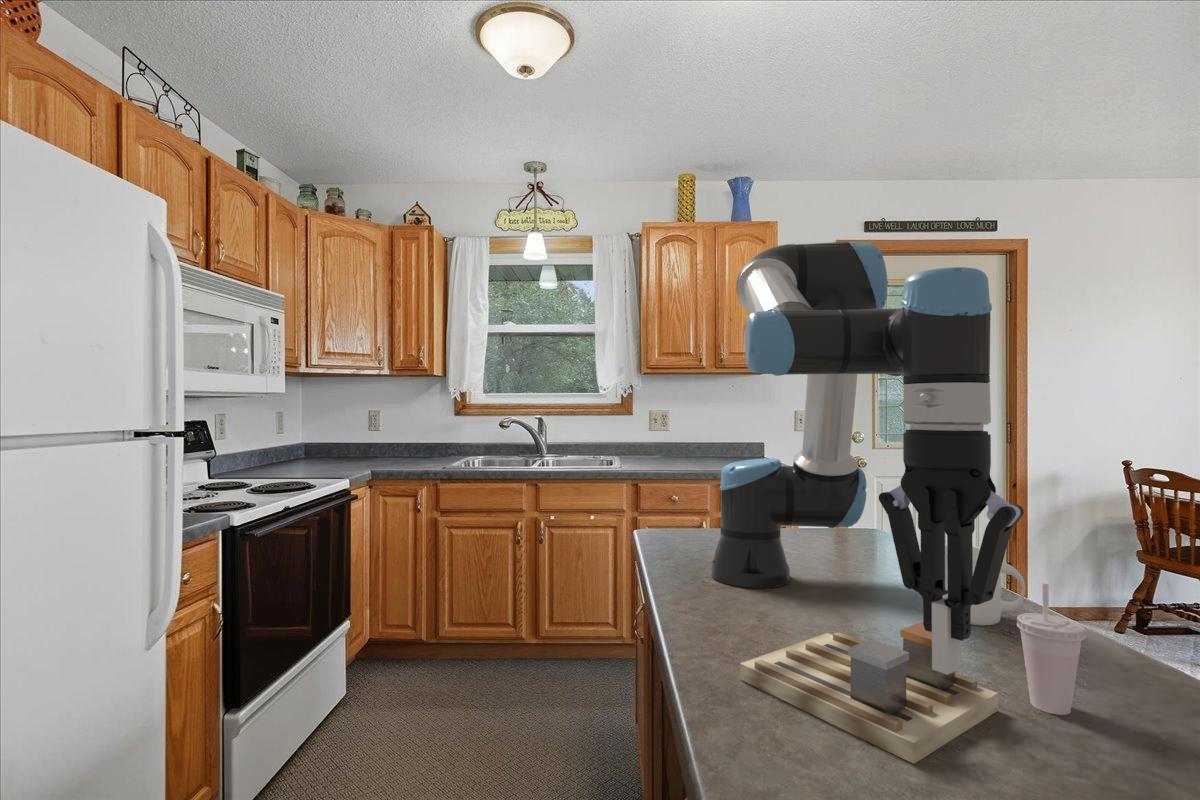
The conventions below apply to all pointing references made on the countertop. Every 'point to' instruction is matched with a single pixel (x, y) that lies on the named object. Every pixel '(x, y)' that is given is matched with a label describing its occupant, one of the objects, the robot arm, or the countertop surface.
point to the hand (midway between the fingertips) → (946, 668)
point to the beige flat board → (823, 689)
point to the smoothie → (1050, 657)
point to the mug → (992, 609)
